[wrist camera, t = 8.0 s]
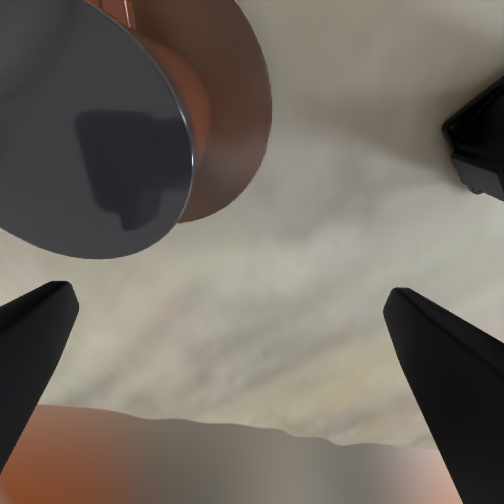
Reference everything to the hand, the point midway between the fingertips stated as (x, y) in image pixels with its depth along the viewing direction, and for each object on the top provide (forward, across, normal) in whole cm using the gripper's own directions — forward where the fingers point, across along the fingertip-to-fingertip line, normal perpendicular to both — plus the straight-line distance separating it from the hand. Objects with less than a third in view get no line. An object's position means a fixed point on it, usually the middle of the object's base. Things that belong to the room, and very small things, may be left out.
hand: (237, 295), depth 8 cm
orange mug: (+11, +5, -4) cm, 13 cm away
